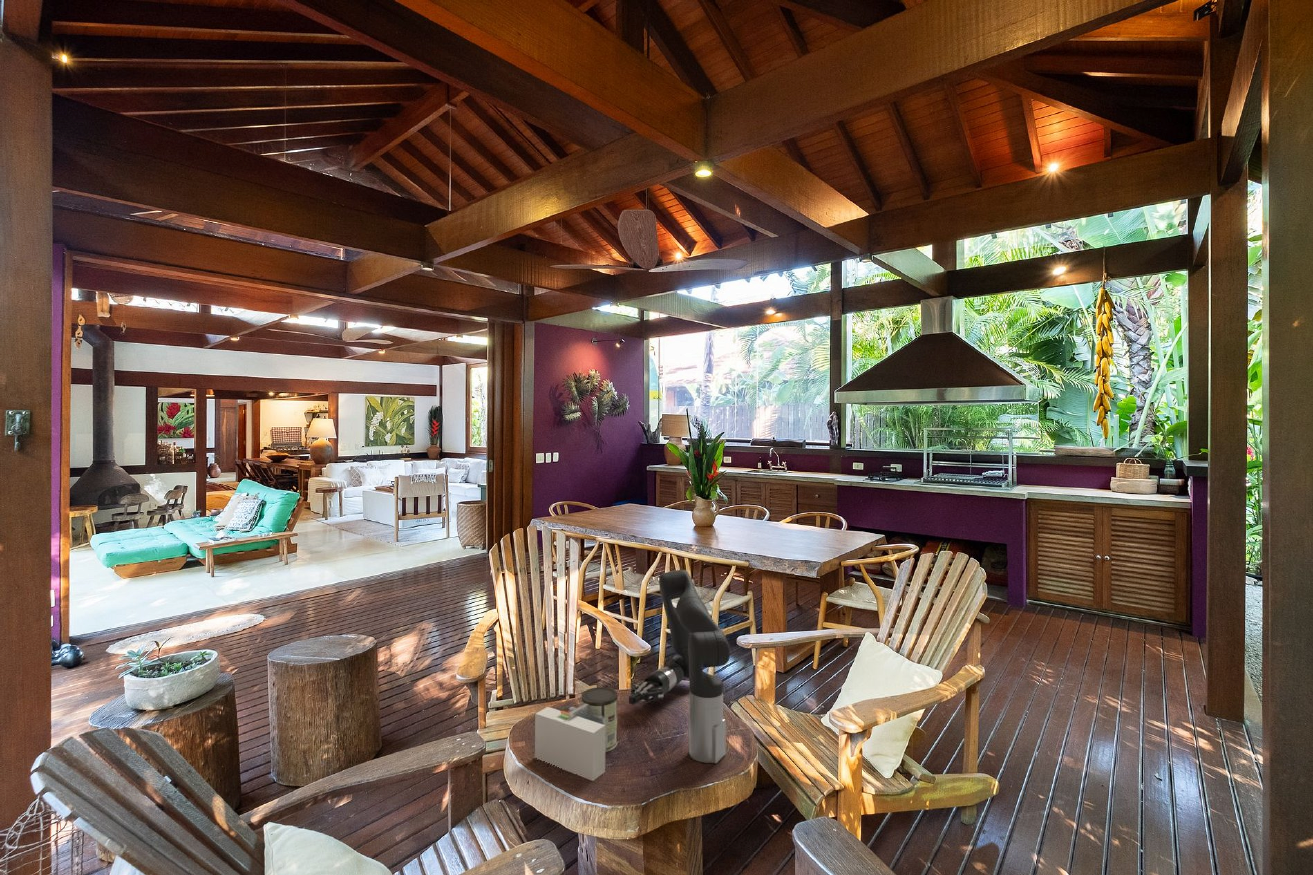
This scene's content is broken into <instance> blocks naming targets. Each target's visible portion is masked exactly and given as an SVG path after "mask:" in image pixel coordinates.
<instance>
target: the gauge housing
mask: <svg viewBox="0 0 1313 875" xmlns="http://www.w3.org/2000/svg"><path fill="white" fill-rule="evenodd" d="M561 711H562V710H559V709H556V708H554V707H550V706H547V707H544V708H543V709H541V710H540V711H538V712H535V714H534V715H535V716H534V718H535V719H534V720H535V721H534V759H535V758H537V759H536V760H538V759H540V760H542V761H541V762H543V761H545V762H544V763H546V762H547V763H546V764H548V763H550V764H549V765H551V764H552V765H551V766H553V765H555V766H554V767H556V766H557V767H556V768H558V767H559V769H561V768H562V769H561V770H563V771H566V772H569V773H571V774H575V775H576V774H577V776H580V777H582V778H585V779H586V780H589V781H591V782H594V781H595V780H596V779H598V778H599V777H600V776H602V775H603V774H605V772H606V752H605V725H603V724H600V723H597V722H594V721H591V720H588V719H584V718H581V717H578V716H573V717H569V716H567V715H564V714H561ZM540 760H539V761H540Z"/></svg>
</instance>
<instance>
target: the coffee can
mask: <svg viewBox="0 0 1313 875" xmlns="http://www.w3.org/2000/svg"><path fill="white" fill-rule="evenodd" d="M618 694H619V693H618V692H617V691H616V690H615V689H614V688H610V687H604V686H602V687H601V686H599V687H591V688H589V689H586V690H584V691H583V692H582V693H581V696H580V697H581V706H582V705H584V704H585V703H586V704H589V705H590V712H591V713H595V714H598V715H601V716H604V717H606V751H605V753H608V752H610V751H613V750H614V749H615V748H616V747H617V746H618Z"/></svg>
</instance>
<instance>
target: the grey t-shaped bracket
mask: <svg viewBox="0 0 1313 875" xmlns="http://www.w3.org/2000/svg"><path fill="white" fill-rule="evenodd" d="M560 711H561V714H564V715H567V716H569V717H573V716H578V717H581V718H584V719H588V720H591V721H594V722H597V723H600V724H603V725H605V751H606V717H604V716H601V715H598V714H595V713H591V712H590V705H589V704H586V703H585V704H584V705H582V704H581V706H578V707H576V706H571V707H568V711H565V710H560Z"/></svg>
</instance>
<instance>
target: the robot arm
mask: <svg viewBox="0 0 1313 875" xmlns="http://www.w3.org/2000/svg"><path fill="white" fill-rule="evenodd" d="M658 584H659V592H660V596H661V599H662V604H663V608H664V611H665V616H666V620H667V622H668V626H669V632H670V637H671V638H670V640H671V647H672V651H673V652H674V653H675V654H674V655H673V656H672V657H671V658H670V661H669V662H668V663H667V664H666V665H665V666H663V667H661V668H658V669H657V670H655V671H653V672H651V673H650V674H648V675H646V677H645V679H644V680H643V681H642V682H639V683H638V684H635V683H634V682H630V686H629V687H630V690H629V691H630V695H629V696H628V703H629V705H635V704H638V703H639V702H644V701H645V703H650V702H656V701H661V700H664V695H665V694H666V693H668V692H670V691H671V690H672V689H673V688H674V687H676V686H677V685H678V684H680V683H681V682H682V680H683V679H684V678H687V679H689V680H688V682H689V701H688V702H689V715H688V716H689V717H688V718H689V722H688V724H689V725H688V726H689V728H688V730H689V731H688V732H689V733H688V734H689V735H688V736H689V737H688V740H689V742H688V743H689V744H688V748H689V749H688V750H689V756H690V757H691V758H692V760H694V761H696V762H700V763H706V764H709V763H711V764H712V763H713V764H718V762H719V761H720V760H721V759H723V757H724V756H725V755H726V754H727V749H726V748H727V735H726V734H727V720H726V719H725V718H724V683H723V681H722V679H721V678H719V677H717V676H715V675H712V674H710V673H706V672H704V670H703V668H716V667H717V668H718V667H723V666H725V665H727V663H729V661H730V657H731V648H730V645H729V642H728V639H727V637H726V635H725V633H724V631H723V630H722V629H721V628H720V627H719V625H717V623H716V622H715V621H714V619H713V618H712V616H711V615H710V613H709V611H708V608H707V607H706V605H705V603H704V601H703V599H702V598H701V596H700V595H699V593H698V592H697V589H696V587H695V585H694V582H693V580H692V577H691V575H690V573H689V572H688V571H687V570H686V569H677V570H673V571H672V570H671V571H667V572H663V573H661V574H660V575H659V577H658ZM675 599H678V600H677V602H676V607H674V605H673V601H672V600H675Z"/></svg>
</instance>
